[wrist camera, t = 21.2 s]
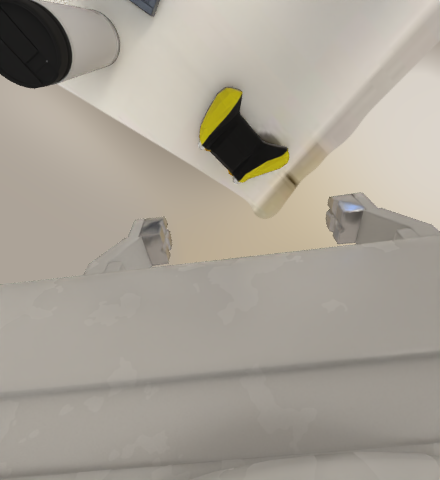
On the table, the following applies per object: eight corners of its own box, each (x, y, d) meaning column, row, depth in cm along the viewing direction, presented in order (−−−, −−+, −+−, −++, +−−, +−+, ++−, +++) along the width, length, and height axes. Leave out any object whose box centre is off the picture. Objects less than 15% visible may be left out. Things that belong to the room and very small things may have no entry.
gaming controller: (230, 75, 40) (184, 125, 44) (233, 81, 36) (182, 135, 40) (288, 148, 47) (244, 185, 51) (297, 160, 43) (248, 200, 47)
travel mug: (93, -6, 34) (-5, -38, 19) (129, 48, 38) (74, 61, 22) (59, 27, 36) (-56, 24, 20) (97, 76, 40) (24, 106, 24)
